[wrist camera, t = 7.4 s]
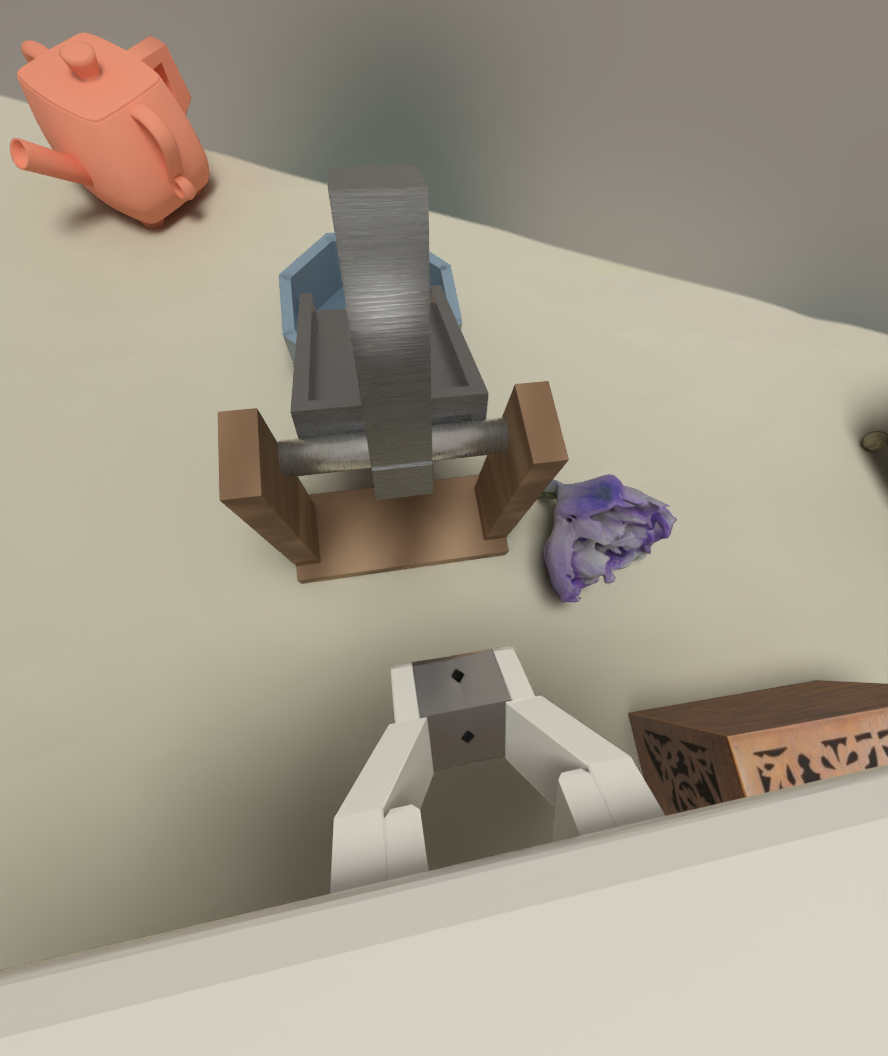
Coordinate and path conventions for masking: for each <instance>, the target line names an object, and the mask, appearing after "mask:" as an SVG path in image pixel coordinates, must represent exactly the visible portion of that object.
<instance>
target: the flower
mask: <svg viewBox="0 0 888 1056" xmlns="http://www.w3.org/2000/svg"><path fill="white" fill-rule="evenodd" d="M542 496H543V497H546V498H549V499H557V503H556V506H555V508H554V511H553V512H554V520H555V522H554V528H553V531H552V534H551V535H550V536H549V538H548V539H547V541H546V543H545V545H544V549H543V552H544V559H545V563H546V566H547V568H548V571H549V577H550V581H551V584H552V586H553V588H554V590H555V592H556V593H557V594H558V596H559V597H560V599H561V601H562V602H566V601H567V602H579V600H580V599H582V598H580V597H579V596H578V595H579V594H580V592H581V589H582V588H584V587H585V586H589V585H591V584H594V583H596V582H598V580H599V576H601V575H604V576H605V581H606V583H611V582H614V580H615V578H616V577H615V576H614V574H613V573H612V571H613V570H615V569H621V568H625V567H627V566H629V564H630V563H631V562H632V561H634V560H635V559H636V558H637V557H640V558H641V559H643V558H645V557H646V555H647V553H649V554H650V553H651V550H650V547H651V545H652V544H653V543H655V542H657V541H659V540H661V539H664V538H668V537H669V536H670V534H671V530H672V527H673V524H674V523H675V522H676V520H677V519H676V518H675V517H673V516H672V514H671V513H670V512H669V510H668V509H667V508H665V507H670V506H669V505H667V504H665V503H663V502H661V501H658V500H656V499H654V498H652V497H650V496H648V495H646V494H644V493H643V492H641V491H639V490H636V489H634V488H631V487H628V486H623V485H622V483H621V481H620V480H619V479H618V478H617V477H615V476H614V475H609V474H608V475H604V476H600V477H597V478H594V479H591V480H588V481H584V482H580V483H575V484H564V485H563V484H562V483H560V482H558V481H557V480H552V481H551V482H550V484H549V485H548V486H547V487H546V489H545V490H544V491H543V492H542V493H541V495H540V496H539V497H542ZM664 506H665V507H664Z"/></svg>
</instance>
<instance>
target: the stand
mask: <svg viewBox="0 0 888 1056" xmlns="http://www.w3.org/2000/svg"><path fill="white" fill-rule="evenodd" d="M502 418H504V419H505V420H506V422H507V425H508V430H509V448H508V451H507V452H506V453H500V454H491V455H487V457H486V459H485V462H484V465H483V467H482V470H481V472H480V475H473V476H465V477H456V478H448V479H439V480H433V493H432V494H423V495H415V496H407V497H399V498H390V499H382V500H376V496H375V490H374V487H371V488H363V489H354V490H346V491H337V492H329V493H320V494H312V495H308V493H307V491H306V490H305V488H304V486H303V485H302V483H301V481H300V480H299V478H298V476H295V477H284V475H283V473H282V470H281V467H280V463H279V457H278V443H277V441H276V439H275V438H274V436H273V434H272V433H271V431H270V429H269V428H268V426H267V424H266V423H265V421H264V419H263V418H262V416H261V414H260V412H259V411H258V409H257V408H255V409H244V410H233V411H223V412H218V447H219V491H220V501H221V502H222V503H223V504H225V505H226V506H227V507H228V508H229V509H230V510H232V511H233V512H234V513H235V514H236V515H237V516H239V517H240V518H241V519H242V520H243V521H244V522H246V523H247V524H248V525H249V526H250V527H251V528H253V529H254V530H255V531H256V532H257V533H258V534H260V535H261V536H262V537H263V538H264V539H266V540H267V541H268V542H269V543H270V544H271V545H273V546H274V547H275V548H276V549H277V550H278V551H280V552H281V553H282V554H283V555H284V556H285V557H287V558H288V559H289V560H290V561H291V562H292V563H294V564H295V565H296V566H297V580H298V581H299V582H300V583H309V582H316V581H323V580H330V579H337V578H344V577H351V576H358V575H365V574H372V573H379V572H386V571H393V570H401V569H408V568H415V567H422V566H429V565H436V564H443V563H450V562H457V561H464V560H471V559H478V558H485V557H493V556H500V555H505V554H506V553H507V552H508V551H509V549H508V545H507V540H506V537H507V536H508V534H509V533H510V532H511V531H512V529H513V528H514V527H515V526H516V524H517V523H518V522H519V521H520V519H521V518H522V517H523V516H524V514H525V513H526V512H527V511H528V510H529V508H530V507H531V506H532V505H533V503H534V502H535V501H536V500H537V498H538V497H539V496H540V495H541V493H542V492H543V491H544V490H545V489H546V487H547V486H548V485H549V484H550V482H551V481H552V480H553V479H554V477H555V476H556V475H557V474H558V472H559V471H560V470H561V469H562V467H563V466H564V465H565V464H566V463H567V461H568V460H569V459H568V455H567V451H566V447H565V443H564V440H563V436H562V432H561V428H560V424H559V420H558V416H557V412H556V409H555V405H554V401H553V397H552V393H551V389H550V385H549V381H545V382H534V383H523V384H515V386H514V388H513V391H512V393H511V396H510V398H509V401H508V403H507V406H506V409H505V411H504V414H503V416H502Z"/></svg>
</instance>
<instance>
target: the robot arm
mask: <svg viewBox="0 0 888 1056" xmlns="http://www.w3.org/2000/svg"><path fill="white" fill-rule="evenodd" d="M412 667H413V668H412ZM390 672H391V684H392V695H393V706H394V718H395V723H393V724H389V725H388V726H387V728H386V730H385V732H384V733H383V735H382V737H381V738H380V740H379V742H378V744H377V745H376V747H375V749H374V750H373V752H372V754H371V756H370V757H369V759H368V761H367V762H366V764H365V766H364V768H363V769H362V771H361V773H360V775H359V776H358V778H357V780H356V781H355V783H354V785H353V787H352V788H351V790H350V792H349V793H348V795H347V797H346V799H345V800H344V802H343V804H342V805H341V807H340V809H339V811H338V812H337V814H336V816H335V818H334V825H333V845H332V865H331V886H330V894H327V895H322V896H318V897H314V898H309V899H305V900H301V901H296V902H292V903H288V904H283V905H279V906H275V907H271V908H266V909H262V910H258V911H253V912H249V913H245V914H240V915H236V916H232V917H227V918H223V919H219V920H214V921H210V922H206V923H201V924H197V925H193V926H189V927H184V928H180V929H176V930H171V931H167V932H163V933H158V934H154V935H150V936H145V937H141V938H137V939H132V940H128V941H124V942H120V943H115V944H111V945H107V946H102V947H98V948H94V949H89V950H85V951H81V952H76V953H72V954H68V955H63V956H59V957H55V958H50V959H46V960H42V961H38V962H33V963H29V964H25V965H20V966H16V967H12V968H7V969H3V970H0V1056H888V764H887V765H883V766H878V767H874V768H870V769H865V770H861V771H857V772H853V773H848V774H844V775H840V776H835V777H831V778H827V779H823V780H818V781H814V782H810V783H805V784H801V785H797V786H793V787H788V788H784V789H780V790H775V791H771V792H767V793H762V794H758V795H754V796H750V797H745V798H741V799H737V800H732V801H728V802H724V803H719V804H715V805H711V806H706V807H702V808H698V809H693V810H689V811H685V812H680V813H676V814H672V815H668V816H665V814H664V812H663V811H662V809H661V807H660V806H659V804H658V802H657V800H656V799H655V797H654V795H653V794H652V792H651V790H650V789H649V787H648V785H647V784H646V782H645V780H644V778H643V777H642V775H641V773H640V772H639V770H638V768H637V767H636V765H635V763H634V761H633V760H632V758H631V757H630V756H629V755H628V754H626V753H625V752H623V751H622V750H620V749H619V748H617V747H616V746H614V745H613V744H611V743H610V742H609V741H607V740H606V739H604V738H603V737H601V736H600V735H598V734H597V733H595V732H594V731H592V730H591V729H590V728H588V727H587V726H585V725H584V724H582V723H581V722H579V721H578V720H576V719H575V718H573V717H572V716H571V715H569V714H568V713H566V712H565V711H563V710H562V709H560V708H559V707H557V706H556V705H555V704H553V703H552V702H550V701H549V700H547V699H546V698H544V697H543V696H536V697H535V694H534V692H533V690H532V688H531V686H530V683H529V681H528V679H527V677H526V674H525V672H524V670H523V668H522V665H521V663H520V661H519V659H518V657H517V654H516V652H515V650H514V648H513V647H512V646H511V645H508V646H503V647H497V648H492V649H487V650H481V651H476V652H470V653H465V654H459V655H454V656H450V657H443V658H436V659H430V660H423V661H416V662H412V663H406V664H399V665H392V666H391V670H390ZM499 757H505V759H506V760H507V761H508V762H509V763H510V764H511V765H512V766H513V767H514V768H515V769H516V770H517V771H518V772H519V773H520V774H521V775H522V776H523V777H524V778H525V779H526V780H527V781H528V782H529V783H530V784H531V785H532V786H533V787H534V788H535V789H536V790H537V791H538V792H539V793H540V794H541V795H542V796H543V797H544V798H545V799H546V800H547V801H548V802H549V803H550V804H551V805H552V806H553V807H554V808H555V815H554V825H553V834H552V842H551V843H547V844H542V845H538V846H534V847H529V848H525V849H521V850H516V851H512V852H508V853H503V854H499V855H495V856H490V857H486V858H482V859H477V860H473V861H469V862H464V863H460V864H456V865H451V866H447V867H443V868H439V869H434V870H430V871H429V867H428V860H427V853H426V847H425V840H424V833H423V826H422V819H421V813H420V809H421V807H422V804H423V801H424V799H425V796H426V793H427V791H428V788H429V785H430V782H431V780H432V777H433V774H434V771H436V770H440V769H444V768H449V767H453V766H457V765H461V764H466V763H470V762H476V761H482V760H487V759H493V758H499Z"/></svg>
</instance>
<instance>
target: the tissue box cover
mask: <svg viewBox="0 0 888 1056" xmlns="http://www.w3.org/2000/svg"><path fill="white" fill-rule="evenodd" d="M628 714H629V719H630V723H631V727H632V731H633V735H634V740H635V744H636V748H637V752H638V756H639V760H640V765H641V769H642V773H643V777H644V780H645V782H646V784H647V785H648V787H649V789H650V790H651V792H652V794H653V795H654V797H655V799H656V800H657V802H658V804H659V806H660V807H661V809H662V811H663V812H664V814H665V816H668V815H672V814H676V813H680V812H685V811H689V810H693V809H698V808H702V807H706V806H711V805H715V804H719V803H724V802H728V801H732V800H737V799H741V798H745V797H750V796H754V795H758V794H762V793H767V792H771V791H775V790H780V789H784V788H788V787H793V786H797V785H801V784H805V783H810V782H814V781H818V780H823V779H827V778H831V777H835V776H840V775H844V774H848V773H853V772H857V771H861V770H865V769H870V768H874V767H878V766H883V765H887V764H888V684H880V683H859V682H839V681H818V680H817V681H811V682H805V683H799V684H794V685H788V686H782V687H776V688H770V689H765V690H759V691H753V692H747V693H741V694H736V695H730V696H724V697H718V698H712V699H707V700H701V701H695V702H689V703H683V704H678V705H672V706H666V707H660V708H655V709H649V710H643V711H637V712H631V713H628Z"/></svg>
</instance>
